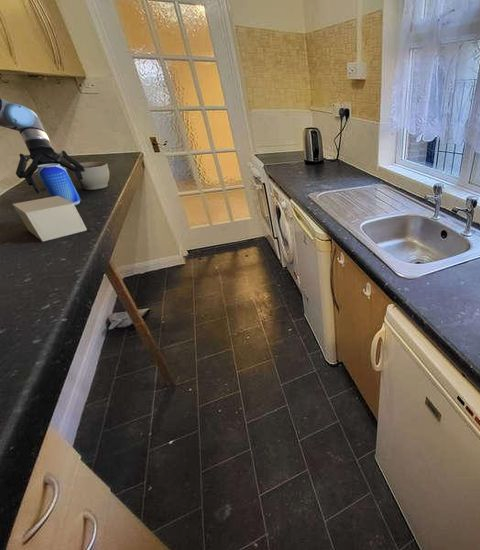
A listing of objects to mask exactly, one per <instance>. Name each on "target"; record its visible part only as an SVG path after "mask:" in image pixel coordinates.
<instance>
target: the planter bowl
mask: <svg viewBox="0 0 480 550" xmlns="http://www.w3.org/2000/svg"><path fill="white" fill-rule="evenodd" d="M78 163H79V164H81V165H82V166H83V167H84V169H85V172H81V174H82V176H83V179H80V180H81V182H82V184H83V186H84V187H82V189H84V190H87V191H88V190H91V191H92V190H100V189H105V188H107V187H108V186H109V184H108V183H109V180H110V170H109V165H108V163H107V162H105V161H85V162H78ZM70 164H71V163H70ZM71 165H73V164H71ZM73 166H74V165H73ZM63 168H64V169H65V170H66V171H67V173H68V175H69V177H70V179H71V180H72V181H73V182H75V183H76V184H77V185H79V186H81V185H80V183H79V181H78V179H77V177H76V175H75V173H74V171H72V170H69V169H67V168H65V167H63Z"/></svg>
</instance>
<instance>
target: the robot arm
mask: <svg viewBox="0 0 480 550" xmlns="http://www.w3.org/2000/svg"><path fill="white" fill-rule="evenodd" d="M0 127H1V128H7V129H10V130H13V131H17V132H19V135H20V136H21V138H22V140H23V142H24V144H25V146H26V148H27V151H28V152H29V154H24V153H19V154H18V156H19V162H18V164H17V168H16V170H15V175H16V176H17V178H18V179H25V181H26V183H27V185H28V186H32V187H33V189H34V191H35V192H36V194H41V193H40V190H39V188H38V186H37V184H36V182H35V180H34V178H33V177H32V176H33V175H34V174H35V172H36V171H38V167H37V166H38V165H43V164H53V163H57V164H60V166H62V167H63V168H64V167H65V168H67V169H69V170H72V171H74V173H75V175H76V177H77V179H78V181H79V183H80V185H79V186H80V187H81V188H83V187H84V186H83V184H82V182H81V180H80V179H83V176H82V174H81V172H85V169H84V167H83V166H82V165H81V164H79V163H80V162H78V161H77V160H76V159H74V158H72V156H70V155H69V154H68V153H67V152H66V151H65V150H61V152H56V150H55V148H54V146H53V144H52V142H51V140H50V139H49V136H48V134H47V132H46V130H45V129H44V128H45V127H44V126H43V123H42V121H41V120H40V118H39V116H38V115H37V113H36V112H35V111H33V109H30V108H28V107H26V106H24V105H22V104H18V103H14V102H10V101H7V100H6V99H4V98H1V97H0ZM61 158H62V159H65V160H62V159H61ZM30 160H32V161H31V163H30V164H29V165H28V162H29V161H30ZM66 161H67V162H66ZM71 164H73V165H74V166H73V165H71ZM27 165H28V167H27Z"/></svg>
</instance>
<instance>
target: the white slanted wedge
mask: <svg viewBox="0 0 480 550" xmlns="http://www.w3.org/2000/svg"><path fill="white" fill-rule="evenodd" d="M12 206H13V208H14V209H15V211H16V213H17V214H18V216H19V217H20V219H21V221H22V222H23V224H24V226H25V227H26V229H27V230H28V232H30V233H31V234H32V235H34V236H35V237H36V238H37V239H39V240H40V241H41V242H47V241H51V240H54V239H59V238H62V237H67V236H71V235H75V234H78V233H83V232H86V231H87V230H88V228H87V227H86V225H85V223H84V221H83V219H82V217H81V215H80V213H79V211H78V209H77V208H76V205H74V204H73V203H71V202H70V201H68V200H66V199H64V198H62V197H60V196H54V197H51V196H49V197H44V198H38V199H32V200H27V201H21V202H15V203H12Z"/></svg>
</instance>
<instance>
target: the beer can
mask: <svg viewBox="0 0 480 550" xmlns="http://www.w3.org/2000/svg"><path fill="white" fill-rule="evenodd" d="M37 167H38V169H37V170H36V171H37V172H36V173H37V175H38V177H39V178H40V180H41V183H42V184H43V186H44V188H45V189H46V191H47V193H48V194H49V197H54V196H60V197H62V198H64V199H66V200H68V201H70V202H71V203H73V204H74V205H75V206H77V205H80V202H81V197H80V195H79V193H78V191H77V190H76V187H75V185H74V184H73V182H72V181H73V180H72V178H71V177H70V176H69V175H68V173H67V171H66V170H65V169H64V167H63V166H61V165H60V164H57V163H53V164H43V165H38V166H37Z"/></svg>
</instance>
